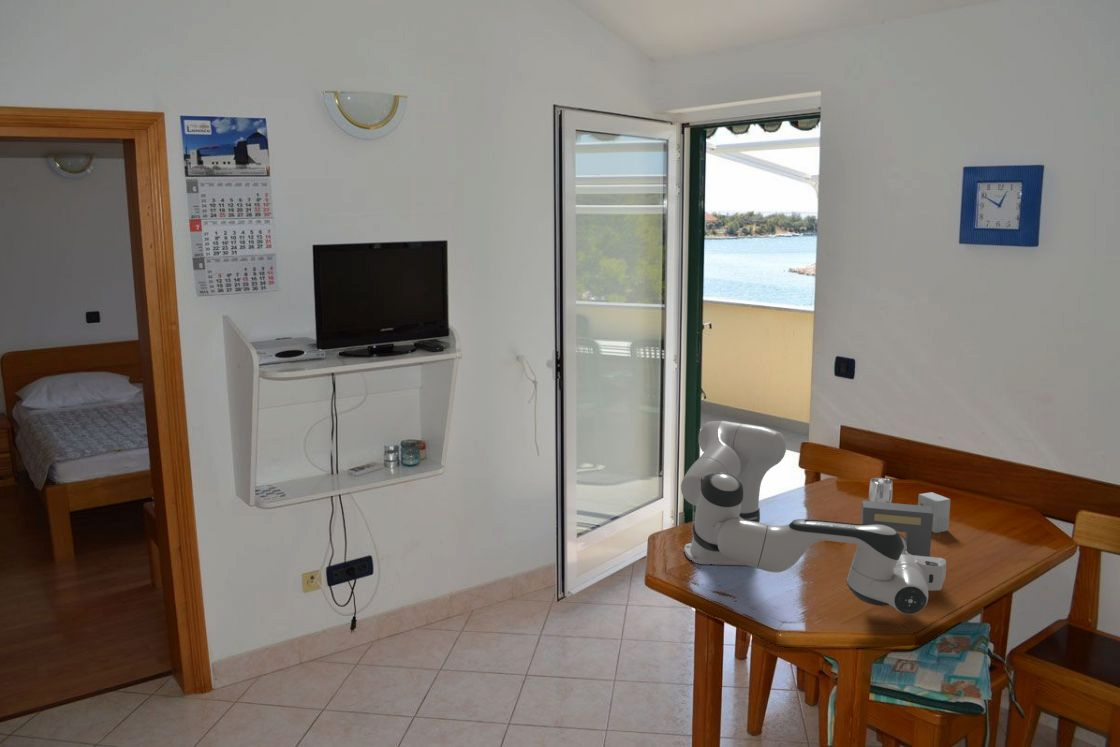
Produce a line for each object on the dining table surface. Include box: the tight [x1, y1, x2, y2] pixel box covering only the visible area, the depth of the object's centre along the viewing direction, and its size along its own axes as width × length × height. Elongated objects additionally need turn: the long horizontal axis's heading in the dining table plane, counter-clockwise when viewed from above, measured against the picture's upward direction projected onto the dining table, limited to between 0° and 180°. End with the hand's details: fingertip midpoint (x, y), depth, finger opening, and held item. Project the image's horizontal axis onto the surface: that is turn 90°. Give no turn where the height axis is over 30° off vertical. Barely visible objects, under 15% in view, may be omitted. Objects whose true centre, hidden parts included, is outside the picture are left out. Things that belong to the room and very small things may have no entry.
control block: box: [860, 500, 933, 557], centre depth 249 cm, size 6×18×18 cm, turn 74°
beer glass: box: [868, 477, 893, 503], centre depth 282 cm, size 7×7×15 cm
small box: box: [917, 491, 951, 534], centre depth 281 cm, size 8×6×10 cm
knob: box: [898, 532, 907, 551], centre depth 247 cm, size 11×5×5 cm, turn 164°
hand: (901, 553), depth 233 cm, fingers closed
